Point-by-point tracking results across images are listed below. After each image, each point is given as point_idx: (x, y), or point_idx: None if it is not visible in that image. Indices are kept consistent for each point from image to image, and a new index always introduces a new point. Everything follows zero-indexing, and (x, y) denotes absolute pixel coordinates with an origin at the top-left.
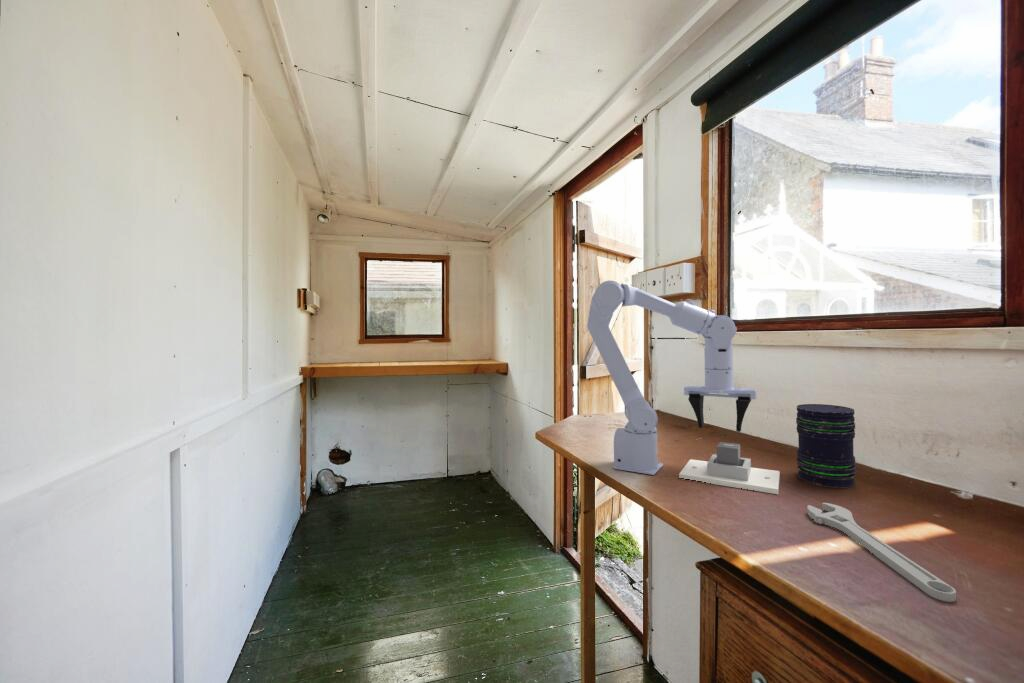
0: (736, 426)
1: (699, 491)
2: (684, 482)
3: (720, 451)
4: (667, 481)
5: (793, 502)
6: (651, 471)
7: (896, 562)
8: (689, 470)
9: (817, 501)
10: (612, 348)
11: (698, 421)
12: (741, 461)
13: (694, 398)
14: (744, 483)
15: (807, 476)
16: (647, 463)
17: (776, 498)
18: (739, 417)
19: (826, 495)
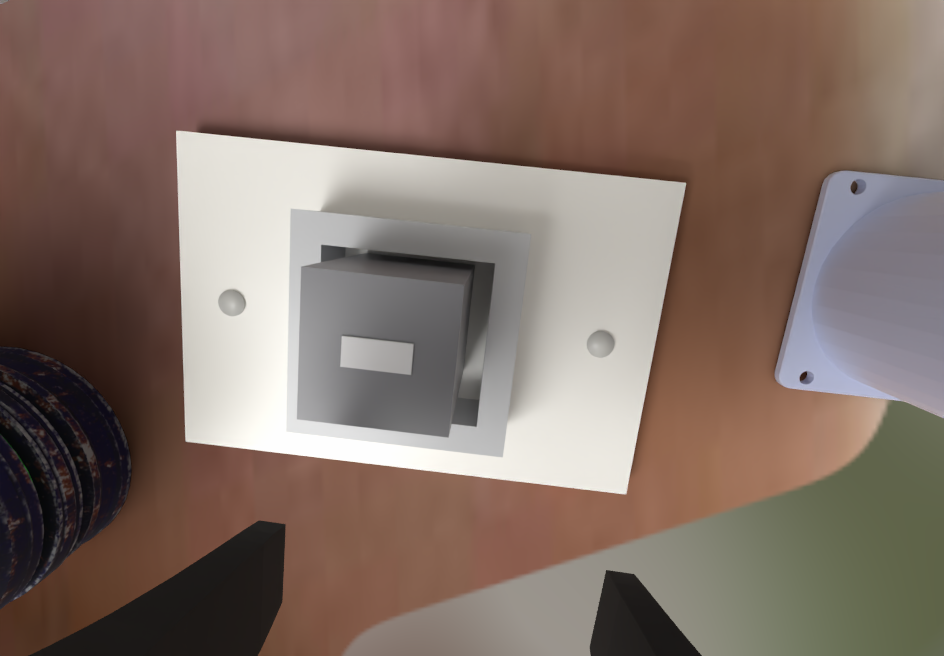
0: (257, 548)
1: (560, 5)
2: (644, 130)
3: (440, 276)
4: (740, 106)
5: (127, 47)
6: (850, 199)
7: None
8: (627, 275)
9: (37, 113)
10: None
11: (664, 616)
12: None
13: None
14: (333, 158)
15: (65, 395)
16: (913, 208)
17: (198, 72)
18: (145, 616)
19: (9, 220)
